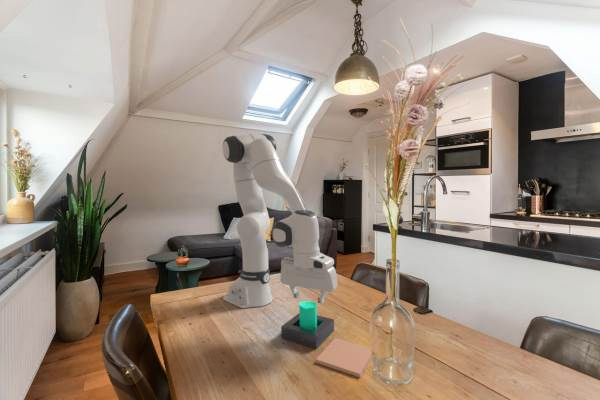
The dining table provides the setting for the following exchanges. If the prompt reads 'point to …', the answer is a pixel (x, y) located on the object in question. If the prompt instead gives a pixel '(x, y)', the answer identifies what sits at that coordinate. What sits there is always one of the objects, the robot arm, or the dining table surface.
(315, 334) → the holder
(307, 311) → the candle
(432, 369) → the dining table surface
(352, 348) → the tile
